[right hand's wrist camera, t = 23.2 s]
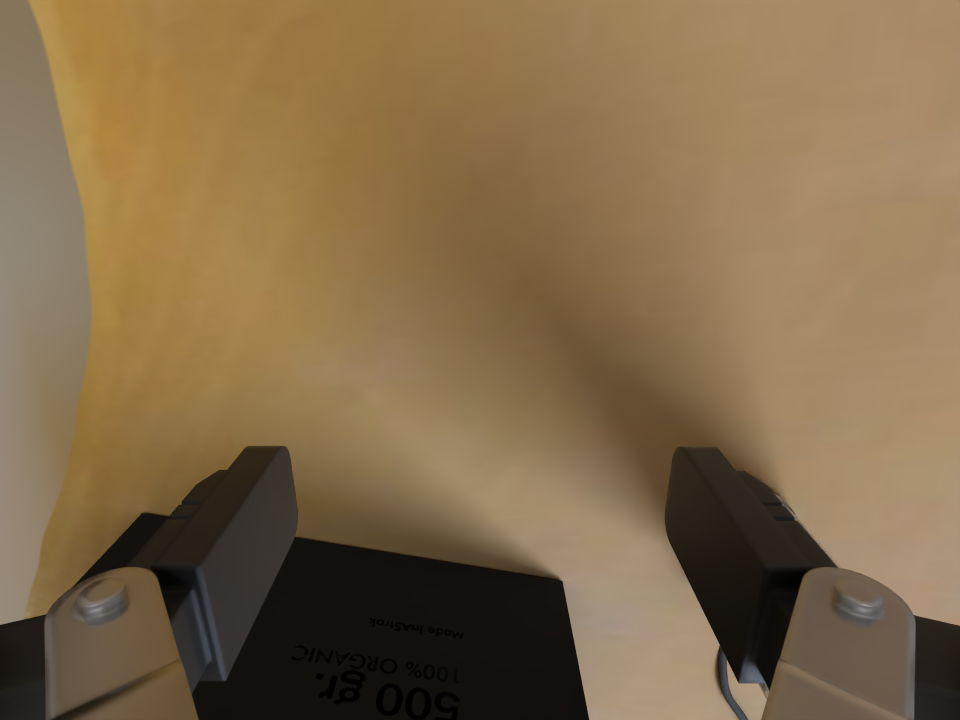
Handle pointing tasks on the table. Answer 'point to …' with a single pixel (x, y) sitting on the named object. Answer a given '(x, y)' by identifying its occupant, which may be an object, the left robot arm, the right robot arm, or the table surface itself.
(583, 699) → the cardboard box
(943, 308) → the table surface
